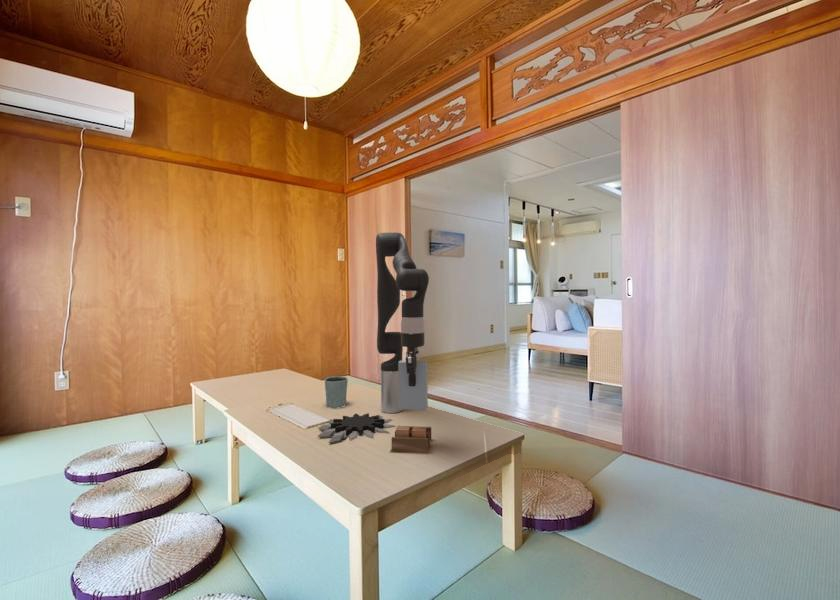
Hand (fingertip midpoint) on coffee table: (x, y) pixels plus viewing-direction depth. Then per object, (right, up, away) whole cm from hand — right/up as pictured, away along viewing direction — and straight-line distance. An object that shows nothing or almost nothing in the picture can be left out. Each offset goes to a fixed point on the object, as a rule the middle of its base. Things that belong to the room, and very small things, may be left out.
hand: (413, 384), depth 123 cm
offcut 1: (-3, -19, -4) cm, 19 cm away
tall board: (0, -8, 0) cm, 8 cm away
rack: (0, -20, -3) cm, 20 cm away
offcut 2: (+2, -19, -5) cm, 19 cm away
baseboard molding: (-48, -21, +31) cm, 61 cm away
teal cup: (-35, -20, +47) cm, 62 cm away
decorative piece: (-20, -21, +15) cm, 32 cm away
